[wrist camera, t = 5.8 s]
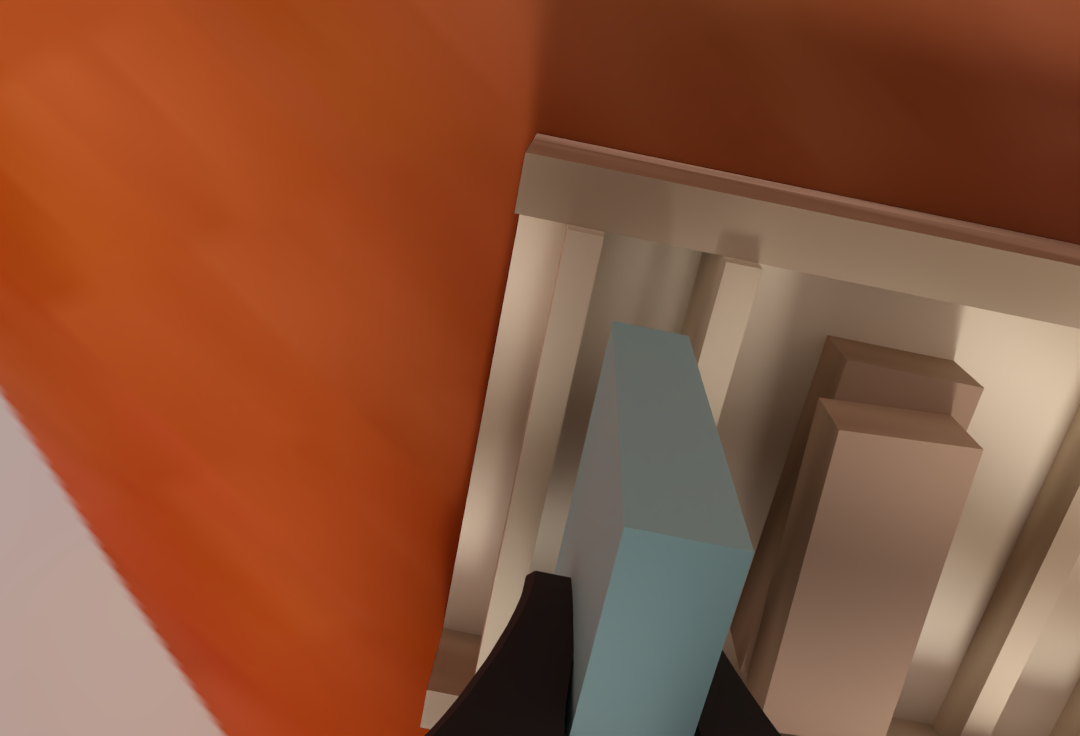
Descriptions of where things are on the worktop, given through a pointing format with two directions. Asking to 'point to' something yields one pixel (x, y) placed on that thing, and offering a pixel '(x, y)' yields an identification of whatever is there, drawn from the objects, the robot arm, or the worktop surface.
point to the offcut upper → (858, 566)
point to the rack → (789, 400)
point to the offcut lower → (838, 376)
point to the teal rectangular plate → (650, 544)
